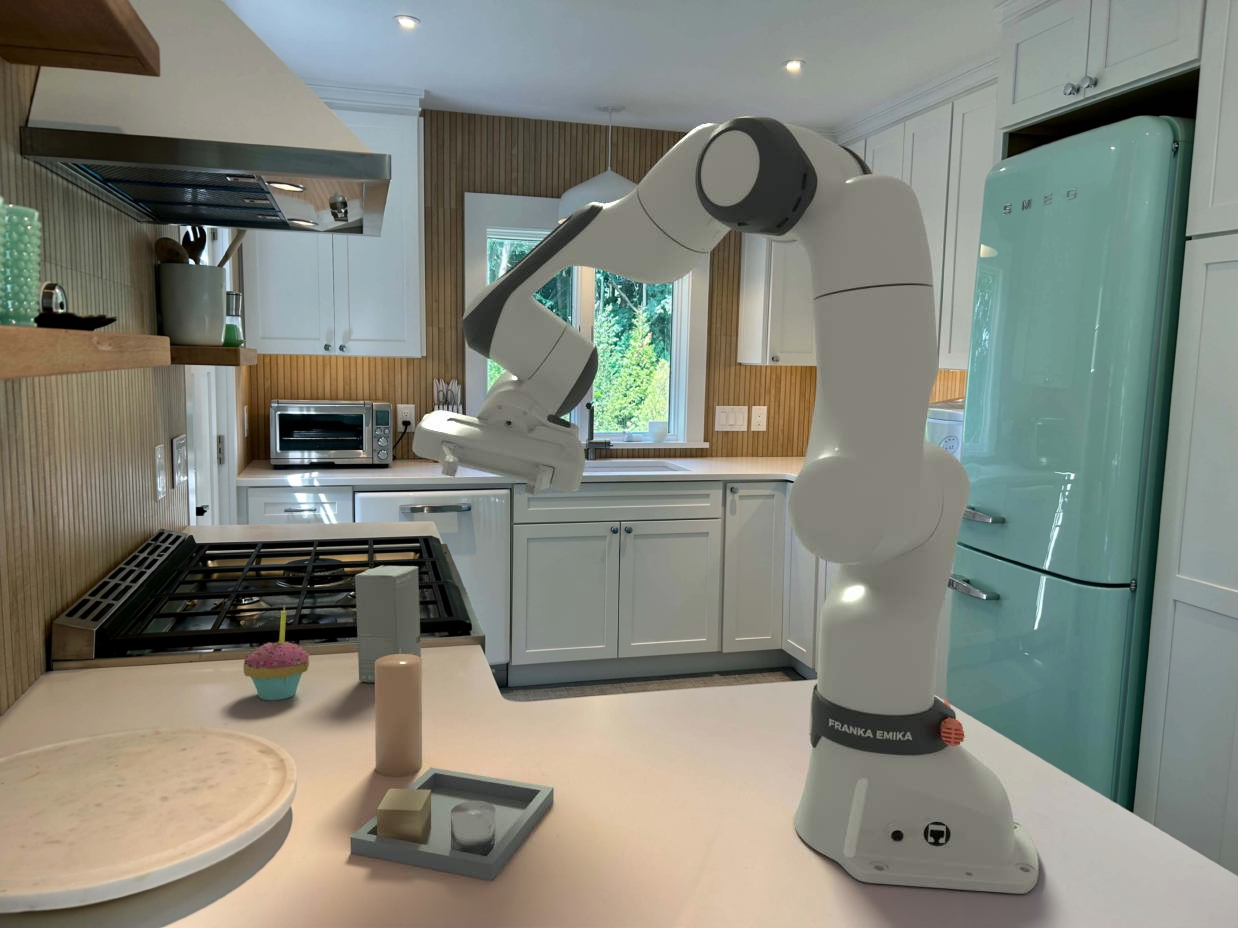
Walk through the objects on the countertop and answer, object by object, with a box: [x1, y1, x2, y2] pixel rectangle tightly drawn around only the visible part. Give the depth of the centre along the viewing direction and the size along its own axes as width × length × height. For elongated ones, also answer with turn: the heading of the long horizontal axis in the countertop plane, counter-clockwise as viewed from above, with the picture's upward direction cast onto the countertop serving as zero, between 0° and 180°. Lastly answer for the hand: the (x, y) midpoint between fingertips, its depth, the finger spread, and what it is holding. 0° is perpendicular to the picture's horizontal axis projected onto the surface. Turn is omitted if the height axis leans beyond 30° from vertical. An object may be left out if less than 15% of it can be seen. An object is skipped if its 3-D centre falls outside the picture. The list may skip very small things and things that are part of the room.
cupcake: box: [243, 604, 310, 701], centre depth 120 cm, size 9×8×12 cm
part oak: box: [376, 788, 431, 844], centre depth 82 cm, size 4×4×4 cm
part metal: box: [451, 801, 495, 856], centre depth 80 cm, size 4×4×4 cm
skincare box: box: [354, 565, 422, 683], centre depth 129 cm, size 8×7×16 cm
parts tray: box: [349, 767, 555, 882], centre depth 85 cm, size 14×15×2 cm
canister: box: [374, 654, 423, 778], centre depth 97 cm, size 5×5×13 cm
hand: (490, 479), depth 99 cm, fingers open, 8 cm apart
